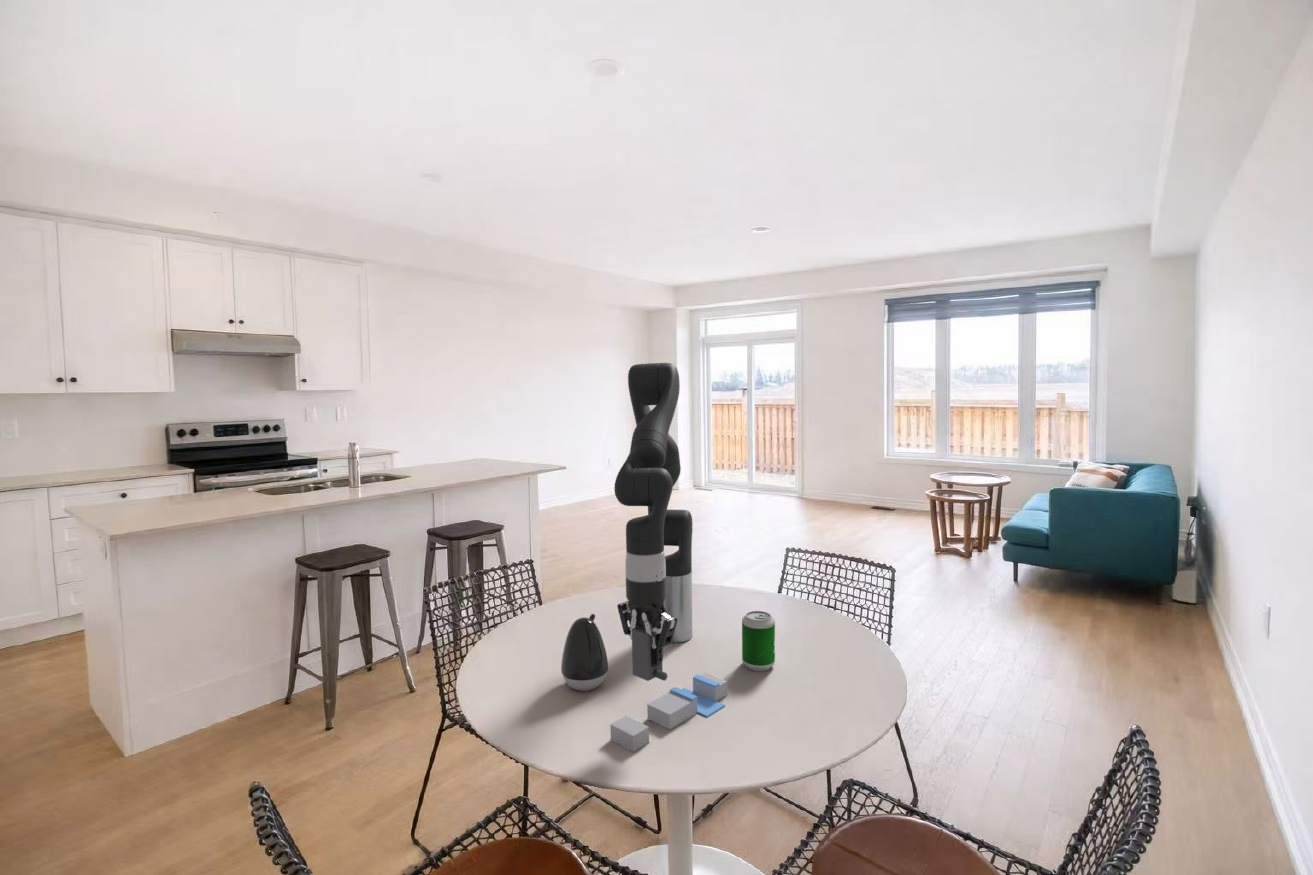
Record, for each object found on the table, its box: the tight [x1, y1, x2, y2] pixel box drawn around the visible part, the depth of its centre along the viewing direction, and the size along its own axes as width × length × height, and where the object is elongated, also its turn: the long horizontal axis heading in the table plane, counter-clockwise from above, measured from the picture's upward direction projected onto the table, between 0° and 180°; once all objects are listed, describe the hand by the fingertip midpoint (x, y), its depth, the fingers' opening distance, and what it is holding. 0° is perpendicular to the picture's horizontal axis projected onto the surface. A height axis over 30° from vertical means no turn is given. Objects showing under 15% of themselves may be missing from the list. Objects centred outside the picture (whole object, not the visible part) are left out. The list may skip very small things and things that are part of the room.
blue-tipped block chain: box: [610, 672, 728, 752], centre depth 129 cm, size 11×28×4 cm, turn 137°
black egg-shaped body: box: [560, 613, 609, 692], centre depth 142 cm, size 10×10×15 cm
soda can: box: [741, 610, 776, 672], centre depth 150 cm, size 8×8×12 cm
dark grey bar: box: [631, 626, 668, 682], centre depth 122 cm, size 6×4×9 cm, turn 47°
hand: (647, 661), depth 123 cm, fingers closed on dark grey bar, 4 cm apart
